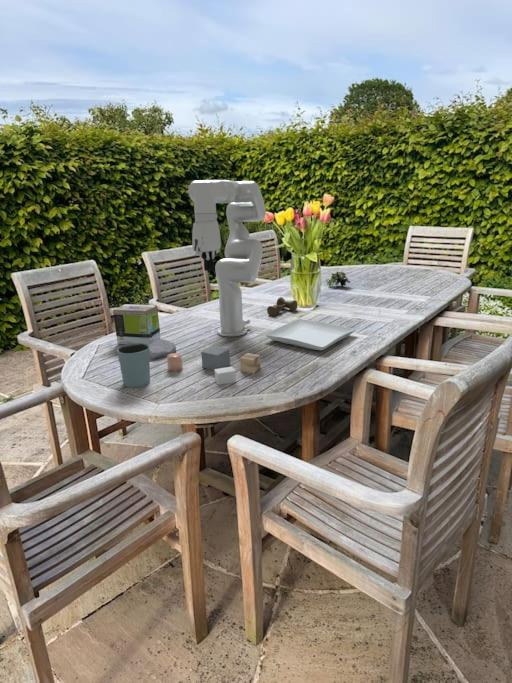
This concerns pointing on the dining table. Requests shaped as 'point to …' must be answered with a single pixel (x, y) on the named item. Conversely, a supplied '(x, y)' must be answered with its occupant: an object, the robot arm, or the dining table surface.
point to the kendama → (281, 306)
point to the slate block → (215, 358)
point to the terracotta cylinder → (174, 362)
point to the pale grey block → (225, 375)
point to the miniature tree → (338, 279)
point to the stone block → (161, 348)
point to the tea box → (136, 324)
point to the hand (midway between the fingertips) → (209, 270)
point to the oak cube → (250, 363)
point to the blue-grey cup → (134, 364)
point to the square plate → (310, 334)
